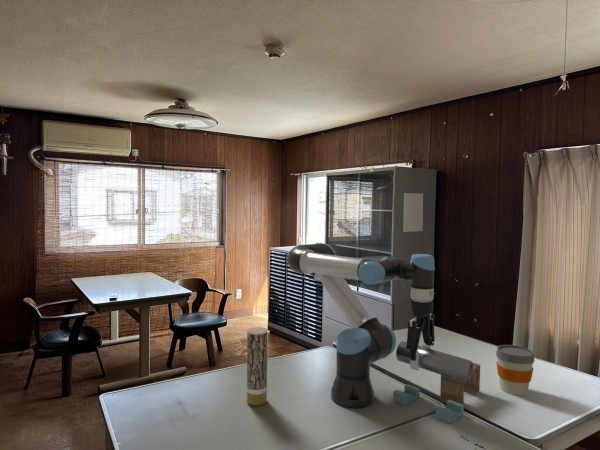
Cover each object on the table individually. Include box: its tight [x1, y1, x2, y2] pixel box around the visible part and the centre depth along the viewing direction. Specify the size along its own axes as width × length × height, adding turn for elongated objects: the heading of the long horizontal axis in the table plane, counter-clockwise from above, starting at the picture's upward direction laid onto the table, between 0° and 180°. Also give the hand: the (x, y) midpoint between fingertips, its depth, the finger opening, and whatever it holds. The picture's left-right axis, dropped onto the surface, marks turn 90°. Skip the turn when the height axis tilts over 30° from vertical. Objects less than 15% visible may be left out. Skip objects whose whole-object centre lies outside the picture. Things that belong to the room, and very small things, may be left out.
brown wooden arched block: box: [439, 362, 481, 405], centre depth 145 cm, size 18×6×10 cm, turn 133°
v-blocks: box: [392, 384, 465, 424], centre depth 138 cm, size 9×21×3 cm, turn 43°
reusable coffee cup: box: [495, 344, 535, 397], centre depth 151 cm, size 13×13×15 cm
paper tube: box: [246, 326, 268, 407], centre depth 139 cm, size 7×7×25 cm
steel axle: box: [395, 340, 474, 383], centre depth 136 cm, size 24×7×7 cm, turn 43°
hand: (420, 366), depth 139 cm, fingers closed on steel axle, 7 cm apart
